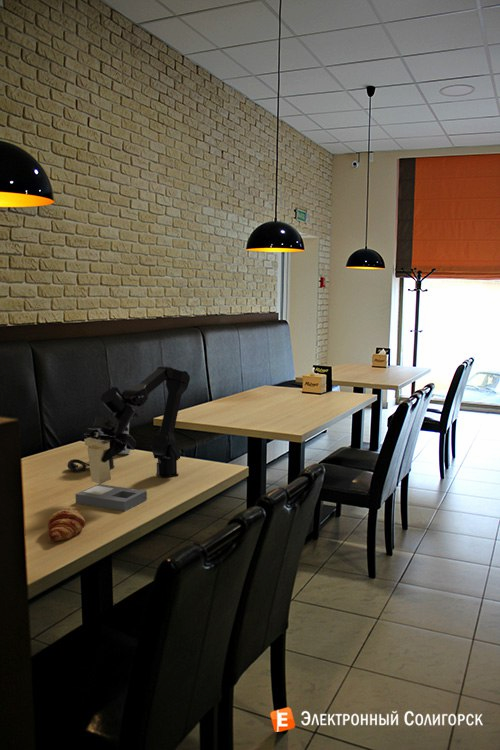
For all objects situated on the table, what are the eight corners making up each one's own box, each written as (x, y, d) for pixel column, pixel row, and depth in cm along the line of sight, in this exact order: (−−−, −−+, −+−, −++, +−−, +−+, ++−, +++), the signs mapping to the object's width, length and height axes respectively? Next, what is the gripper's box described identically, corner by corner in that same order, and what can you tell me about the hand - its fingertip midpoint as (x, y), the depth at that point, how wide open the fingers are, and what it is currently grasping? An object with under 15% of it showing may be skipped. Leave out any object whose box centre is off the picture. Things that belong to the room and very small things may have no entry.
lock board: (146, 499, 210) (146, 490, 210) (124, 511, 199) (124, 501, 199) (99, 492, 218) (99, 483, 217) (75, 503, 207) (75, 493, 207)
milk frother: (119, 467, 250) (118, 429, 248) (89, 476, 237) (87, 437, 235) (93, 462, 258) (92, 425, 256) (62, 471, 244) (61, 432, 242)
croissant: (69, 529, 194) (56, 506, 193) (98, 514, 193) (85, 491, 192) (44, 556, 173) (30, 531, 172) (77, 540, 172) (62, 514, 171)
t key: (96, 475, 214) (92, 436, 211) (116, 481, 208) (112, 441, 205) (86, 479, 210) (81, 440, 207) (105, 485, 204) (101, 445, 201)
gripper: (86, 404, 214) (62, 443, 206) (129, 409, 205) (105, 450, 197) (104, 423, 222) (81, 461, 214) (146, 429, 212) (124, 469, 204)
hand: (97, 460), depth 207 cm, fingers closed on t key, 5 cm apart
